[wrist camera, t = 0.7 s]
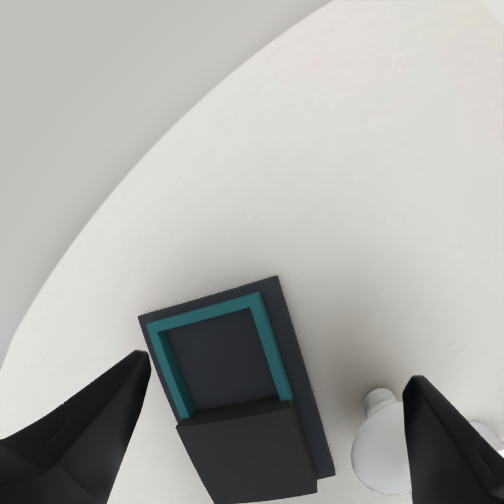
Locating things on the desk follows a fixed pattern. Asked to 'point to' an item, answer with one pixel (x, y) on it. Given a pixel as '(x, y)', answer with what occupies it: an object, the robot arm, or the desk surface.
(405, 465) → the lightbulb
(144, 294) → the desk surface
